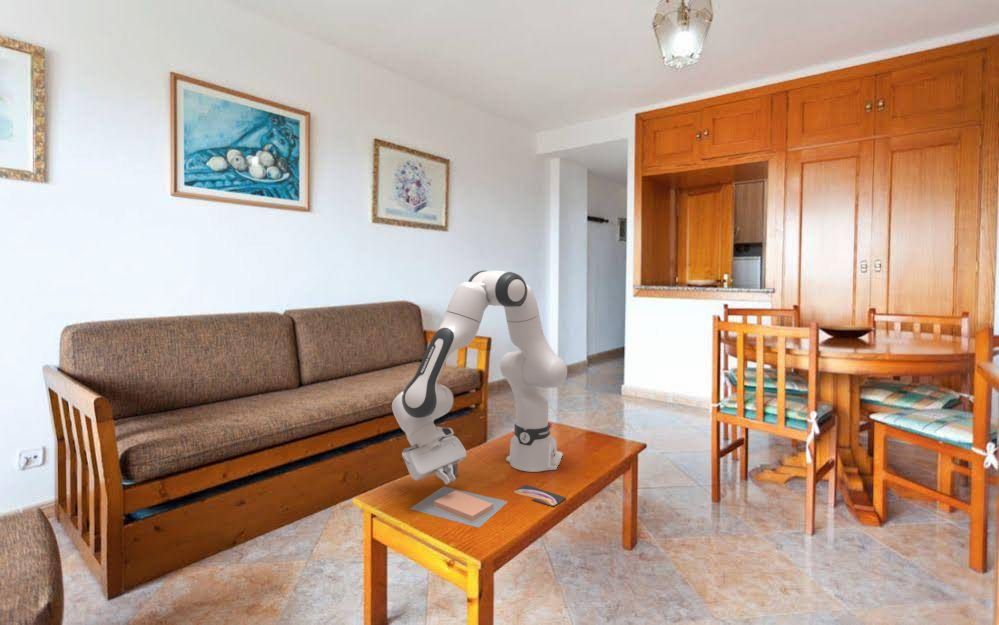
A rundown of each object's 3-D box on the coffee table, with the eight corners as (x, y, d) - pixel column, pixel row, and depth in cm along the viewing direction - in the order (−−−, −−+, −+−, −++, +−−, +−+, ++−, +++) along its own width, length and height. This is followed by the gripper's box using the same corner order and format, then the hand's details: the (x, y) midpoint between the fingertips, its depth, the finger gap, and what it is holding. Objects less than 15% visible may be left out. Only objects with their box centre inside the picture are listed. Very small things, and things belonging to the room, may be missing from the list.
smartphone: (553, 506, 139) (511, 492, 149) (553, 509, 139) (511, 494, 149) (567, 497, 145) (525, 483, 154) (567, 500, 145) (525, 486, 155)
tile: (433, 501, 138) (472, 516, 129) (455, 490, 145) (493, 503, 137) (433, 507, 138) (472, 522, 130) (455, 496, 145) (493, 510, 137)
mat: (443, 487, 152) (443, 486, 152) (508, 503, 142) (508, 501, 142) (409, 510, 137) (409, 508, 137) (478, 529, 127) (479, 527, 127)
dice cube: (435, 478, 160) (435, 462, 159) (445, 473, 164) (445, 458, 164) (448, 481, 157) (448, 466, 157) (457, 476, 161) (457, 461, 161)
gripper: (404, 444, 135) (430, 488, 130) (455, 427, 152) (479, 465, 146) (394, 456, 138) (418, 500, 133) (444, 438, 155) (468, 476, 149)
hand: (451, 482), depth 140 cm, fingers closed
